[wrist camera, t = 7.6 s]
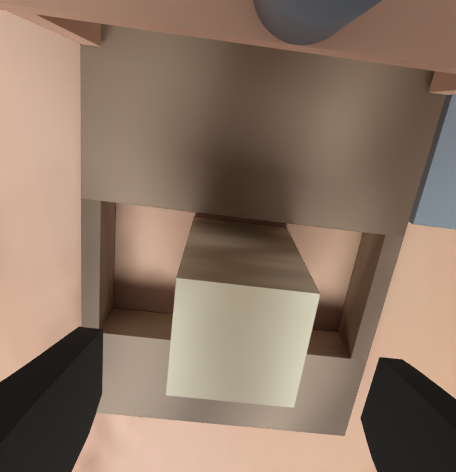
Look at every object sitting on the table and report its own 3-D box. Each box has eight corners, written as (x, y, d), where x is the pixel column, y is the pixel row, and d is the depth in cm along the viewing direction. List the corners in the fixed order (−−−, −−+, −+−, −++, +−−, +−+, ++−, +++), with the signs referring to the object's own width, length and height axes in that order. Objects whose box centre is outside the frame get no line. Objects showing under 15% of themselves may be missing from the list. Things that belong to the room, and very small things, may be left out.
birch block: (286, 227, 16) (320, 293, 10) (271, 308, 17) (293, 407, 12) (194, 216, 16) (176, 277, 10) (185, 299, 17) (165, 395, 11)
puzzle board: (481, -141, 12) (530, -189, 10) (332, 403, 19) (344, 435, 17) (104, -205, 11) (79, -268, 9) (96, 380, 18) (81, 411, 16)
